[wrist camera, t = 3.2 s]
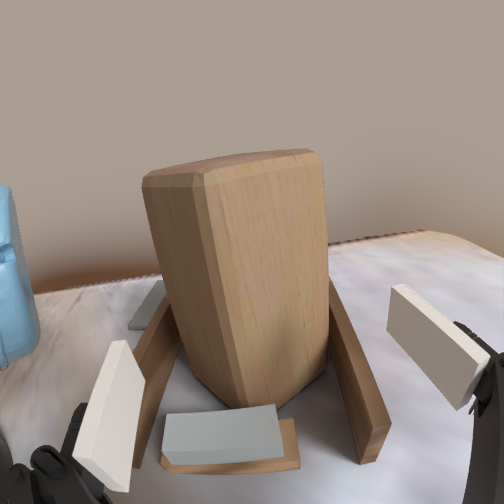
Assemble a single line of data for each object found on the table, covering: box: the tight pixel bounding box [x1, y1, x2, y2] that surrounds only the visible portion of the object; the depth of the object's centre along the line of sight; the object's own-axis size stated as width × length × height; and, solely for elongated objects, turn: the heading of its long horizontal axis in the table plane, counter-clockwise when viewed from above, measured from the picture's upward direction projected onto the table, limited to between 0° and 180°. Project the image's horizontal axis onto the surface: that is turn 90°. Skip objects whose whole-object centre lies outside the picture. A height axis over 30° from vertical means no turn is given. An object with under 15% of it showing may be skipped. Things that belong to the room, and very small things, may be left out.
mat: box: [128, 280, 167, 330], centre depth 42 cm, size 14×14×1 cm
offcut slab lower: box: [160, 418, 300, 475], centre depth 18 cm, size 10×4×2 cm, turn 91°
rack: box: [132, 277, 392, 469], centre depth 24 cm, size 19×20×6 cm
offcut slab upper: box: [162, 404, 284, 465], centre depth 17 cm, size 8×4×2 cm, turn 95°
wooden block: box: [141, 149, 329, 410], centre depth 23 cm, size 10×10×20 cm
